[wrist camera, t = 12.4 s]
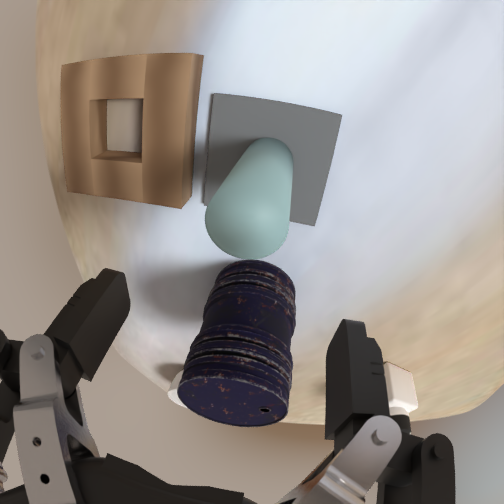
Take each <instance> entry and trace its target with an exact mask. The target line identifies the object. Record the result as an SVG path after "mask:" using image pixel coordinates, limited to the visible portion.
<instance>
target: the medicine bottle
mask: <svg viewBox="0 0 504 504" xmlns="http://www.w3.org/2000/svg"><path fill="white" fill-rule="evenodd" d="M383 366H384V371H385V374H384V376H385V378H386V385H387V393H388V402H389V411H390V416H391V419H393V420H394V421H395V422H396V423H397V424H398V426H399V427H400V430H401V431H403V432H405V433H407V434H410V433H411V427H410V420H409V413H410V412H411V411H413V410H415V409H417V408H418V402H417V396H416V391H415V386H414V381H413V377H412V373H411V372H409V371H406V370H404V369H402V368H400V367H398V366H396V365H393V364H391V363H389V362H386V363H385V364H383Z"/></svg>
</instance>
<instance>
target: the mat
mask: <svg viewBox="0 0 504 504" xmlns="http://www.w3.org/2000/svg"><path fill="white" fill-rule="evenodd" d="M341 118H342V115H340V114H336V113H332V112H328V111H324V110H320V109H315V108H311V107H306V106H301V105H296V104H291V103H285V102H280V101H274V100H267V99H261V98H254V97H246V96H238V95H229V94H220V93H214V97H213V105H212V115H211V124H210V134H209V145H208V156H207V168H206V181H205V195H204V206H208V204H209V202H210V201H211V199H212V198H213V196H214V195H215V193H216V192H217V190H218V189H219V188H220V186H221V185H222V183H223V182H224V180H225V179H226V177H227V176H228V175H229V173H230V172H231V170H232V169H233V168H234V166H235V165H236V163H237V162H238V161H239V159H240V158H241V156H242V155H243V154H244V152H245V151H246V150H247V148H248V147H249V146H250V145H251V144H252V143H253V142H254V141H256V140H258V139H261V138H275V139H278V140H280V141H282V142H283V143H285V144H286V145H287V146H288V148H289V149H290V151H291V153H292V155H293V177H292V191H291V205H290V217H289V221H291V222H296V223H301V224H306V225H311V226H315V223H316V219H317V216H318V212H319V208H320V205H321V201H322V197H323V193H324V189H325V186H326V182H327V178H328V174H329V170H330V166H331V161H332V157H333V153H334V149H335V145H336V140H337V136H338V132H339V127H340V123H341Z"/></svg>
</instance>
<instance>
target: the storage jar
mask: <svg viewBox="0 0 504 504" xmlns="http://www.w3.org/2000/svg"><path fill="white" fill-rule="evenodd" d="M295 316H296V306H295V287H294V284H293V282H292V280H291V279H290V277H289V276H288V275H287V274H286V273H285V272H284V271H283V270H281V269H280V268H278V267H277V266H275V265H273V264H270V263H268V262H264V261H259V260H242V261H238V262H235V263H232V264H230V265H228V266H227V267H225V268H224V269H223V270H222V271H221V272H220V273H219V275H218V277H217V279H216V282H215V285H214V287H213V289H212V290H211V292H210V295H209V297H208V300H207V303H206V305H205V308H204V314H203V324H202V327H201V330H200V332H199V334H198V335H197V336H196V338H195V339H194V341H193V342H192V344H191V346H190V352H189V354H188V356H187V359H186V361H185V364H184V371H183V374H182V378H181V380H180V382H179V385H178V388H177V395H178V398H179V399H180V401H181V402H182V403H183V404H184V405H185V406H186V407H187V408H188V409H190V410H191V411H193V412H195V413H196V414H198V415H200V416H202V417H204V418H207V419H209V420H212V421H215V422H218V423H222V424H226V425H232V426H239V427H261V426H267V425H271V424H274V423H277V422H279V421H281V420H282V419H284V418H285V417H286V415H287V413H288V405H289V400H288V399H289V393H290V389H291V384H292V369H293V361H292V355H291V352H290V346H291V338H292V336H293V333H294V329H295V326H296V320H295Z"/></svg>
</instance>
